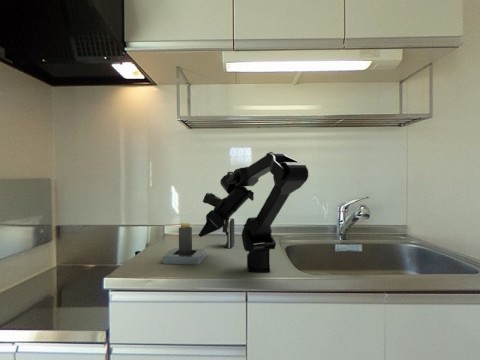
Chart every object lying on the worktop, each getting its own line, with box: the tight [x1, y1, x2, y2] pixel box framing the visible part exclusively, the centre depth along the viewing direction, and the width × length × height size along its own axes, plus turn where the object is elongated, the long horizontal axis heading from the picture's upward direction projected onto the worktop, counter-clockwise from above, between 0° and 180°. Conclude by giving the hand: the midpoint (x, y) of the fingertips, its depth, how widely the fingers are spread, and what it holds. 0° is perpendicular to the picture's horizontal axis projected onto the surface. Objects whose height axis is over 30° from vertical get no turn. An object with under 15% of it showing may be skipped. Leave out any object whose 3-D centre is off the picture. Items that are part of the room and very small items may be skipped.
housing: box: [162, 247, 207, 266], centre depth 118 cm, size 12×12×2 cm
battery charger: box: [222, 217, 235, 249], centre depth 139 cm, size 7×4×11 cm, turn 170°
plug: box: [178, 222, 193, 255], centre depth 118 cm, size 4×4×12 cm
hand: (201, 233), depth 117 cm, fingers open, 9 cm apart
